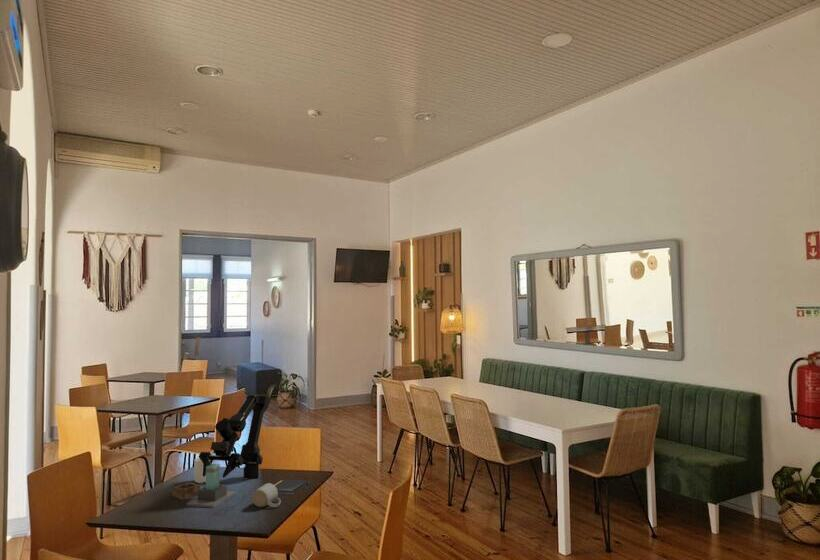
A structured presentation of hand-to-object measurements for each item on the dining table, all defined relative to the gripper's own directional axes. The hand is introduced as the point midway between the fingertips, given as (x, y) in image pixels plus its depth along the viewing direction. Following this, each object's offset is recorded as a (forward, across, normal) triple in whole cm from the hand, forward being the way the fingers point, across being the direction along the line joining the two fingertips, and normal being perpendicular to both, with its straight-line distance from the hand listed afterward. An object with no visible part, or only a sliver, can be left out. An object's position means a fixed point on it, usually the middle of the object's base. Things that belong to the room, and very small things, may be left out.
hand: (213, 476), depth 231 cm
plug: (+6, 0, +6) cm, 8 cm away
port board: (+7, 0, +6) cm, 9 cm away
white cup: (-10, -19, +23) cm, 32 cm away
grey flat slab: (-8, +24, +22) cm, 33 cm away
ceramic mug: (+8, +26, +5) cm, 28 cm away
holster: (+5, -14, +8) cm, 17 cm away
